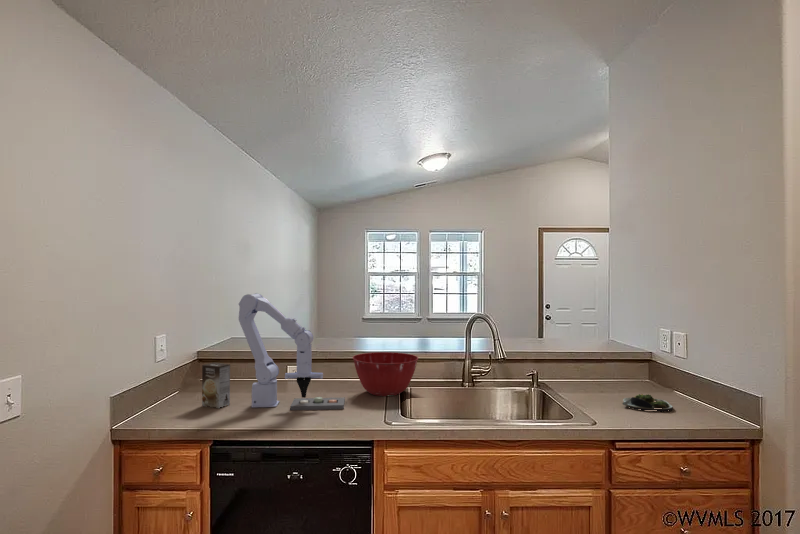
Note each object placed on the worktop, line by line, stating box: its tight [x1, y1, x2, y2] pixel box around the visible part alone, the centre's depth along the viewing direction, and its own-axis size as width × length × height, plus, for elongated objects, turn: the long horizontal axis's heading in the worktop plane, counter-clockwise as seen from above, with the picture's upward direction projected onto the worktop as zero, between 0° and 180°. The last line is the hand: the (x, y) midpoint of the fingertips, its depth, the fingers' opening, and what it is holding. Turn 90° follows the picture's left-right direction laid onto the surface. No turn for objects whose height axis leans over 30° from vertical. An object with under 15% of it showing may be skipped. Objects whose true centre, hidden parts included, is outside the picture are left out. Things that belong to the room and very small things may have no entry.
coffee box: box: [201, 362, 231, 409], centre depth 202 cm, size 9×6×16 cm
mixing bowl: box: [352, 351, 419, 397], centre depth 223 cm, size 28×28×16 cm
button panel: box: [289, 397, 346, 411], centre depth 202 cm, size 20×12×2 cm, turn 94°
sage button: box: [313, 396, 324, 403], centre depth 202 cm, size 3×3×2 cm
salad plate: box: [621, 393, 674, 411], centre depth 201 cm, size 19×18×5 cm
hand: (303, 397), depth 201 cm, fingers closed
